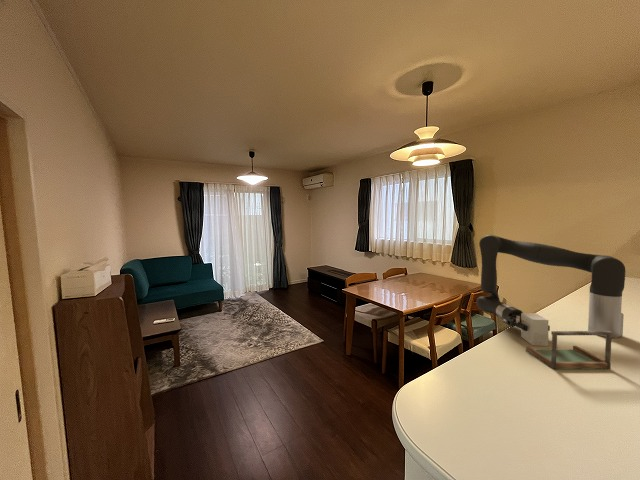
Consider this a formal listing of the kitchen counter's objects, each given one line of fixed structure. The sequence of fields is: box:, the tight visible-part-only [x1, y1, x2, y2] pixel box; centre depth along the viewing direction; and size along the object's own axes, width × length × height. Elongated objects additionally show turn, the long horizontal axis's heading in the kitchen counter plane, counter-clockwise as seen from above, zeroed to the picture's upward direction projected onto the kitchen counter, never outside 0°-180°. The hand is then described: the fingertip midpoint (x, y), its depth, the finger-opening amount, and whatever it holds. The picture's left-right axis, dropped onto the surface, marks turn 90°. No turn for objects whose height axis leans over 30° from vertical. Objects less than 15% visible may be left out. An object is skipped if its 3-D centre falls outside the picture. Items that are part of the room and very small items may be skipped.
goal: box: [525, 330, 613, 370], centre depth 90 cm, size 18×12×12 cm, turn 87°
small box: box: [520, 312, 549, 347], centre depth 104 cm, size 8×6×10 cm
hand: (537, 328), depth 102 cm, fingers open, 8 cm apart
